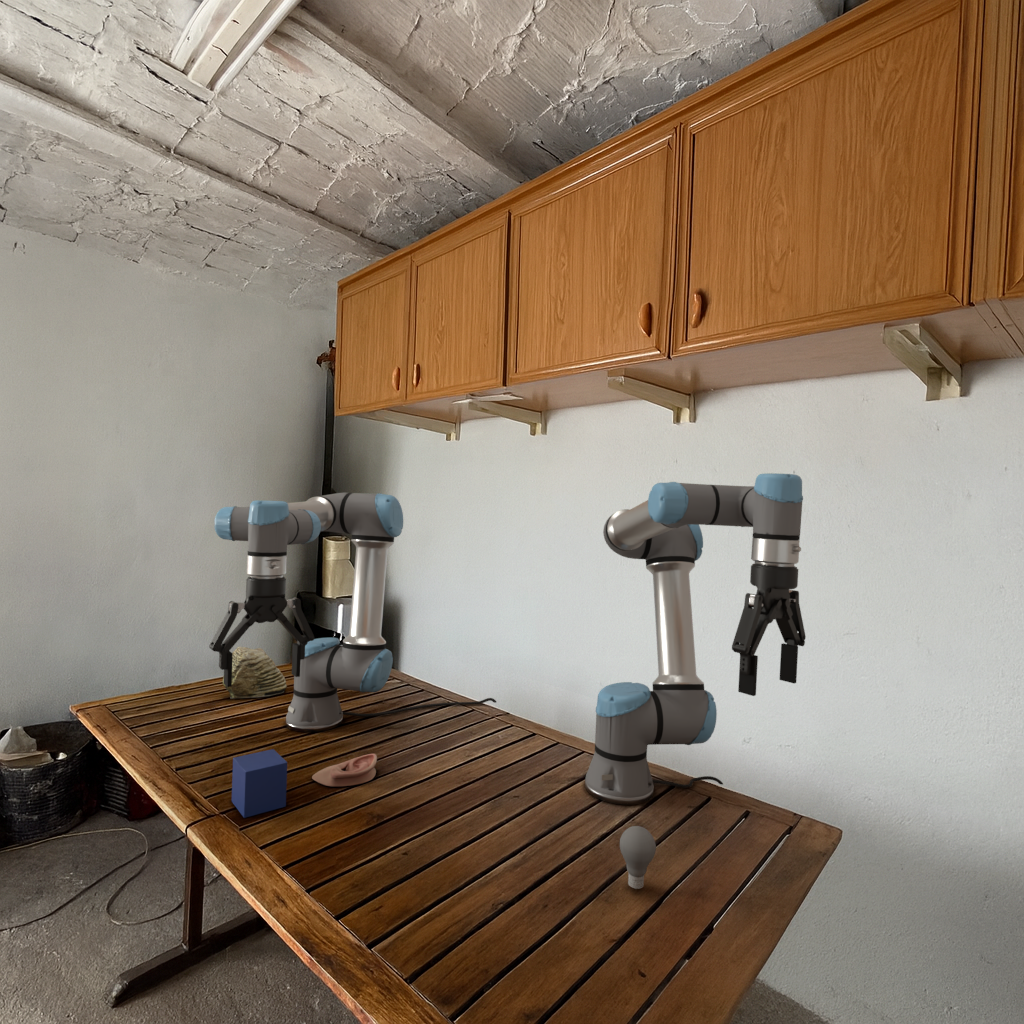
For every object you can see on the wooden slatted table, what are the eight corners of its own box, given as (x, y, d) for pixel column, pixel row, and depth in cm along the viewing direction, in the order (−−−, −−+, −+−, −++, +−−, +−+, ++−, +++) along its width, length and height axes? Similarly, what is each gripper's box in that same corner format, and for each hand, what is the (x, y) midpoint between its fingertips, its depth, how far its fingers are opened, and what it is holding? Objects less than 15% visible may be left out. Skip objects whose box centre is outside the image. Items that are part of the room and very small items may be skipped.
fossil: (218, 695, 195) (220, 647, 195) (278, 685, 208) (279, 640, 207) (228, 703, 189) (230, 653, 188) (289, 692, 201) (290, 645, 201)
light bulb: (613, 876, 109) (616, 819, 109) (647, 876, 110) (650, 819, 110) (622, 898, 103) (625, 837, 103) (658, 897, 104) (661, 837, 104)
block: (231, 801, 130) (233, 757, 130) (271, 791, 135) (273, 748, 135) (243, 818, 124) (245, 772, 124) (285, 806, 129) (287, 762, 129)
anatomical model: (305, 765, 139) (330, 745, 150) (304, 783, 139) (330, 762, 151) (361, 773, 137) (383, 752, 148) (360, 791, 137) (382, 769, 148)
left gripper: (205, 581, 118) (201, 694, 118) (332, 575, 134) (328, 675, 134) (195, 576, 124) (191, 684, 124) (318, 571, 140) (314, 667, 140)
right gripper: (756, 569, 97) (749, 705, 98) (829, 564, 113) (823, 681, 114) (713, 563, 103) (707, 693, 104) (789, 559, 119) (783, 671, 120)
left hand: (262, 680), depth 129 cm, fingers open, 13 cm apart
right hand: (768, 687), depth 109 cm, fingers open, 13 cm apart
